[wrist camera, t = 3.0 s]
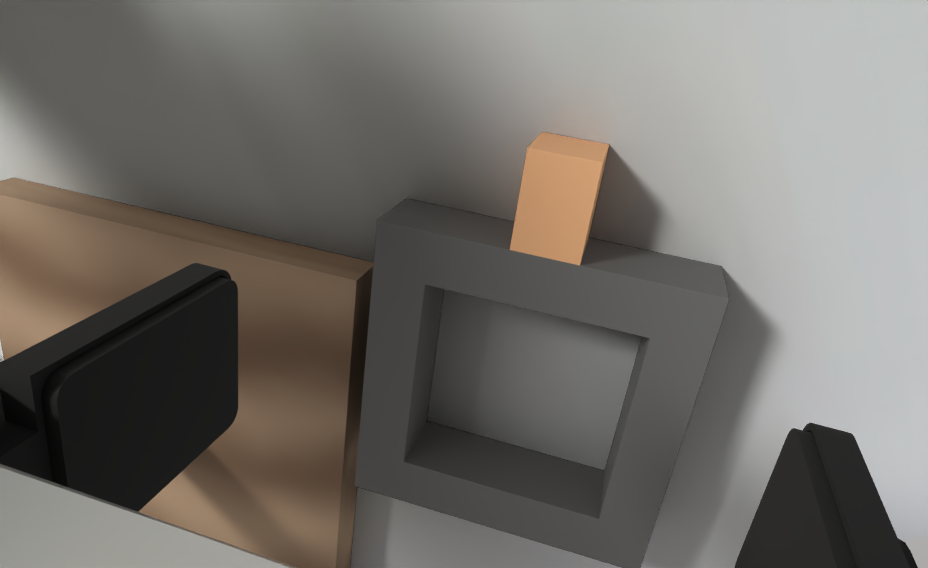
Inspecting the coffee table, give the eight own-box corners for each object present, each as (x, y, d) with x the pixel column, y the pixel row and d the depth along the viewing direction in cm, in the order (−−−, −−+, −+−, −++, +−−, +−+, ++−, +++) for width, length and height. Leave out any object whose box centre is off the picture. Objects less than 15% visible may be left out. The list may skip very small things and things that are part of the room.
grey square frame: (415, 108, 25) (385, 120, 22) (751, 171, 23) (763, 193, 20) (380, 444, 31) (354, 486, 28) (640, 520, 29) (638, 572, 26)
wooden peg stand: (13, 177, 31) (-364, 277, 20) (376, 263, 28) (176, 443, 16) (62, 508, 39) (-183, 713, 28) (346, 605, 36) (200, 884, 24)
